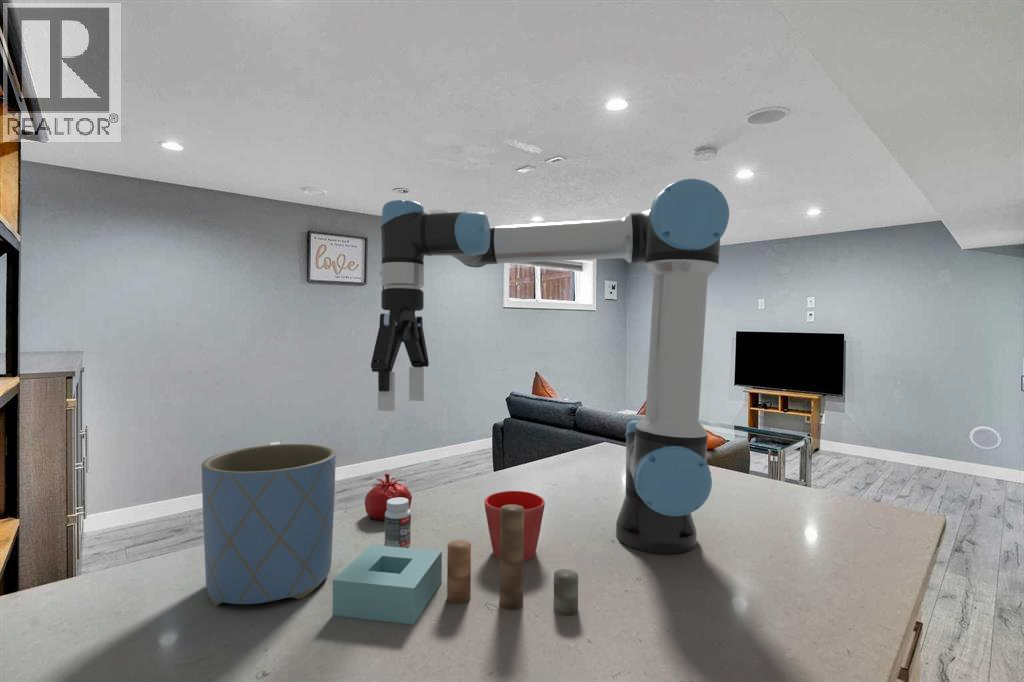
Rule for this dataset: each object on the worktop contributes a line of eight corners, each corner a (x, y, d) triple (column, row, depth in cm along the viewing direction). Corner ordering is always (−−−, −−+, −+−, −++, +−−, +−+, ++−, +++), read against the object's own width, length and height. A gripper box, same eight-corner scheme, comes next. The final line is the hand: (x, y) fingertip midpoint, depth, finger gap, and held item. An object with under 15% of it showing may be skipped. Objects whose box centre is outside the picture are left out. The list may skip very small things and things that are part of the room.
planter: (343, 552, 91) (344, 442, 91) (322, 609, 72) (323, 470, 72) (229, 559, 88) (230, 445, 87) (176, 620, 69) (176, 475, 69)
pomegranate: (389, 529, 103) (389, 484, 102) (354, 519, 108) (354, 476, 107) (421, 513, 111) (421, 471, 111) (387, 504, 116) (387, 464, 116)
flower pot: (525, 572, 84) (526, 514, 84) (472, 556, 90) (473, 502, 89) (554, 549, 93) (555, 497, 93) (504, 536, 99) (505, 487, 98)
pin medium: (473, 593, 77) (473, 541, 77) (467, 605, 73) (467, 550, 73) (451, 590, 77) (451, 539, 77) (444, 602, 74) (444, 548, 74)
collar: (441, 582, 80) (441, 551, 80) (413, 624, 68) (414, 588, 68) (371, 575, 82) (371, 544, 82) (332, 615, 70) (332, 579, 70)
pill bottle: (404, 551, 91) (404, 505, 91) (380, 549, 92) (380, 503, 92) (414, 541, 96) (414, 497, 96) (391, 539, 97) (391, 495, 97)
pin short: (578, 603, 74) (578, 570, 74) (577, 616, 71) (577, 581, 71) (554, 601, 75) (555, 568, 75) (552, 614, 71) (552, 579, 71)
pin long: (524, 598, 75) (525, 505, 75) (521, 610, 72) (521, 513, 72) (501, 595, 76) (502, 503, 76) (497, 608, 73) (498, 511, 72)
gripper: (409, 294, 104) (409, 396, 105) (349, 281, 80) (348, 414, 80) (444, 294, 103) (444, 397, 103) (393, 280, 78) (393, 416, 79)
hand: (402, 405), depth 92 cm, fingers open, 13 cm apart
